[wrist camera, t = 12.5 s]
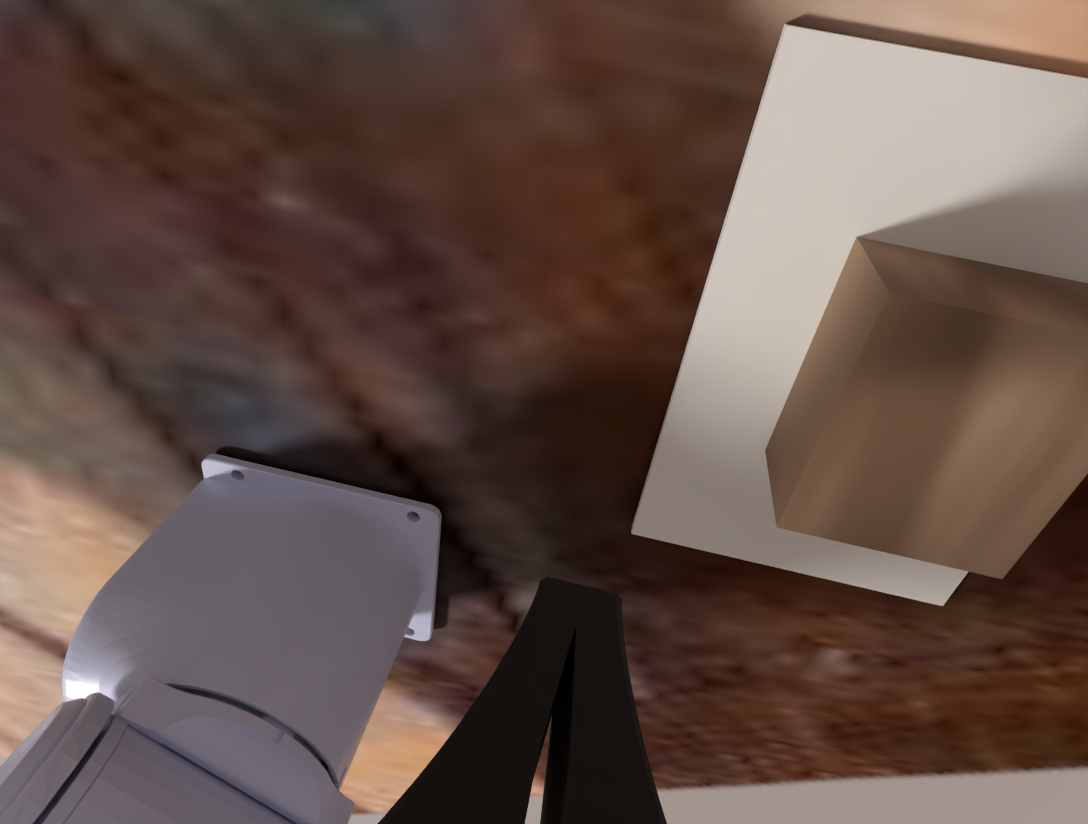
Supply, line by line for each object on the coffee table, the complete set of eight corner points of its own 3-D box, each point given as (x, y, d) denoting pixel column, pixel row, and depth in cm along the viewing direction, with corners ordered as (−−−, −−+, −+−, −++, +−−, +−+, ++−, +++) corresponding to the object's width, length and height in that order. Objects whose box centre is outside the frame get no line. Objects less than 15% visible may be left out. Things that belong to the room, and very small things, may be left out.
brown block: (776, 527, 18) (1002, 579, 18) (889, 293, 14) (1184, 353, 14) (764, 450, 21) (959, 493, 21) (856, 237, 17) (1099, 285, 17)
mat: (631, 526, 24) (630, 533, 24) (784, 23, 15) (786, 25, 15) (939, 597, 24) (942, 605, 23) (1296, 115, 14) (1310, 118, 14)
